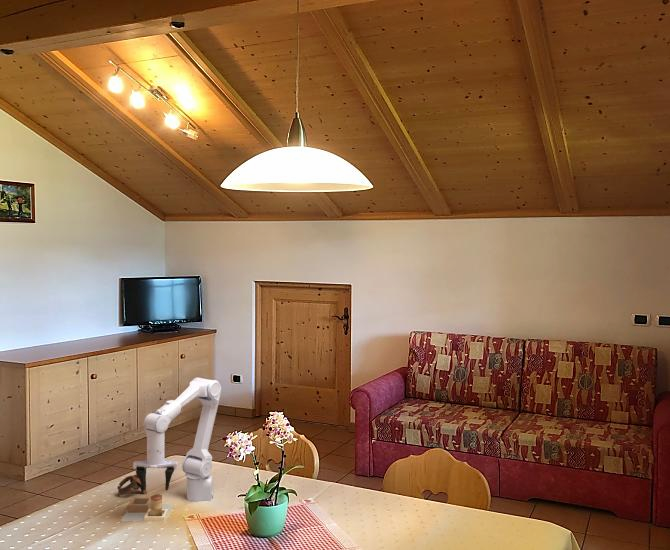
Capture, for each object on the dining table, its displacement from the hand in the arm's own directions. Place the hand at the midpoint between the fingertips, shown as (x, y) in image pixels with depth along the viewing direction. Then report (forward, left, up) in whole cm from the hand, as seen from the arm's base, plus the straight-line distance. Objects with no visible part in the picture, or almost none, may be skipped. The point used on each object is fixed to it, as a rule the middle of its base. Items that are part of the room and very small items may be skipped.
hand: (155, 489), depth 226 cm
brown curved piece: (+13, -22, -11) cm, 28 cm away
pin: (0, 0, -10) cm, 10 cm away
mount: (+3, -4, -11) cm, 12 cm away
